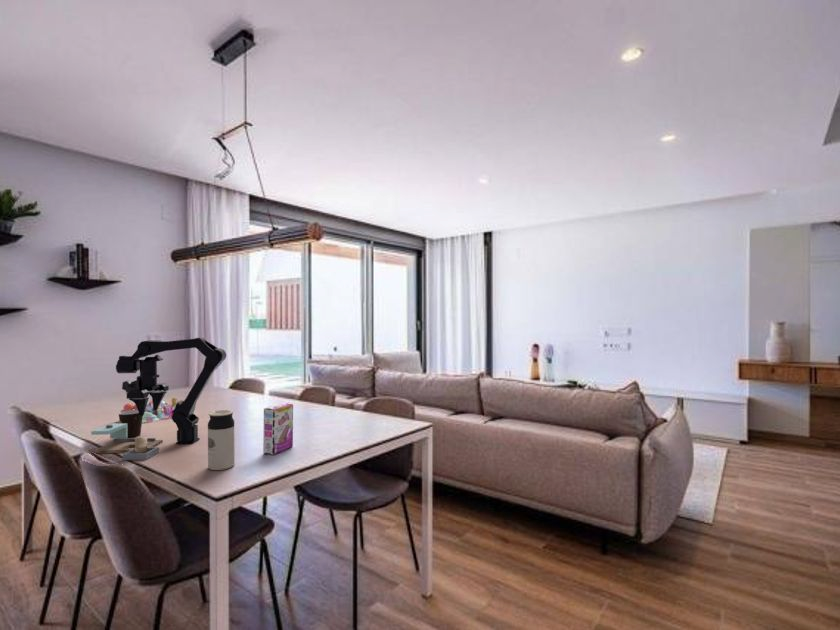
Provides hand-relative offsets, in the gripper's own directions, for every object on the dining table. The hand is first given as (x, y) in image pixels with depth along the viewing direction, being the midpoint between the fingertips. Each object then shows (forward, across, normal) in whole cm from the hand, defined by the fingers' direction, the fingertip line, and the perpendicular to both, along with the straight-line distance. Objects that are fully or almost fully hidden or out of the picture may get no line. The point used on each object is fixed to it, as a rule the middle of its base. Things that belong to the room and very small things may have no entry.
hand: (148, 412), depth 173 cm
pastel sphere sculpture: (+13, -46, -24) cm, 54 cm away
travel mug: (+12, +28, +39) cm, 50 cm away
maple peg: (+11, +15, +6) cm, 20 cm away
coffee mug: (+12, -10, -13) cm, 20 cm away
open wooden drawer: (+12, +5, -5) cm, 14 cm away
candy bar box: (+12, +11, +53) cm, 56 cm away
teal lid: (+10, +5, -12) cm, 16 cm away
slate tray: (+12, +16, +6) cm, 20 cm away
